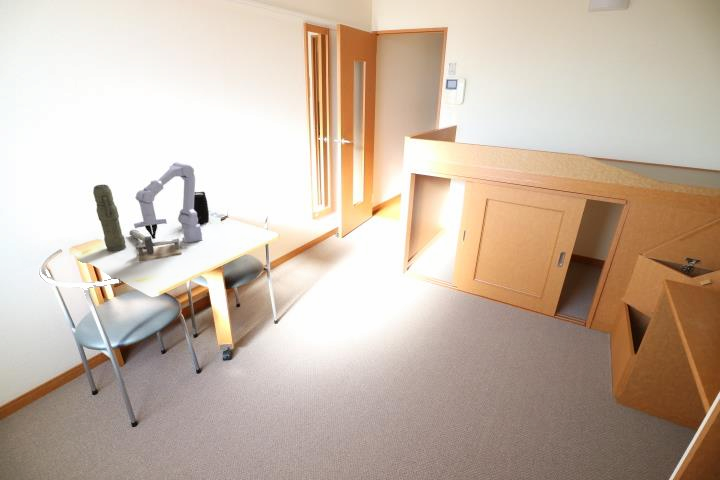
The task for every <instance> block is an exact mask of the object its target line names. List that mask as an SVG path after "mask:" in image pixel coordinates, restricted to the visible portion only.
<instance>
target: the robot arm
mask: <svg viewBox="0 0 720 480" xmlns="http://www.w3.org/2000/svg"><path fill="white" fill-rule="evenodd" d="M175 177H180V178H181V179H182V180H183V199H182V204H183V205H182V209H181V210H179V215H178V217H177V220H178V222H179V223H180V224H181V226H182V231H183V237H182V239H183V242H184V243H185V244H186V243H192V242H199V241H200V242H201V241H203V234H202V228H201V224H200V223H198V217H197V213H196V211H195V210H194V194H195V192H196V189H195V188H196V176H195V169H194V167H193V166H191V164H189V163H187V164H186V163H180V162H174V163H172V165H170V166H169V169H168V170H167V171H166V172H164V174H163V175H162V176H161V177H160V178H158V180H156V179H155V180H151V181H150V183H149V184H148V185H147V186H145V187H143V189H141V190H138V191H137V192H136V195H135V199H136V201H138V204H139V206H140V210H141V211H140V212H141V215H142V220H143V221H139V222H135V223H133V226H134V229H138V228H142V227H144V228H145V230H146V231H147V232H148V233H149V235H150V236H151V239H152V240H155V239H156V233H157V229H158V225H165V224H166V225H167V224H168V223H167V219H166V218H162V219H157V216H156V212H155V206H154V200H155V199H156V198H155V197H156V196H157V195H159V193H160V192H161V191H162V190H164V185H166V184H168V182H170V181H171V180H173V179H174V178H175Z"/></svg>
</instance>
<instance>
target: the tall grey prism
mask: <svg viewBox="0 0 720 480" xmlns="http://www.w3.org/2000/svg"><path fill="white" fill-rule="evenodd" d="M148 236H149V235H148ZM144 239H145V245H146V248H145V249H146V250H147V254H153V253H154V249H153V248H154V246H153V245H152V241H153V239H152V237H151V235H150V236H149V237H144Z"/></svg>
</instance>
